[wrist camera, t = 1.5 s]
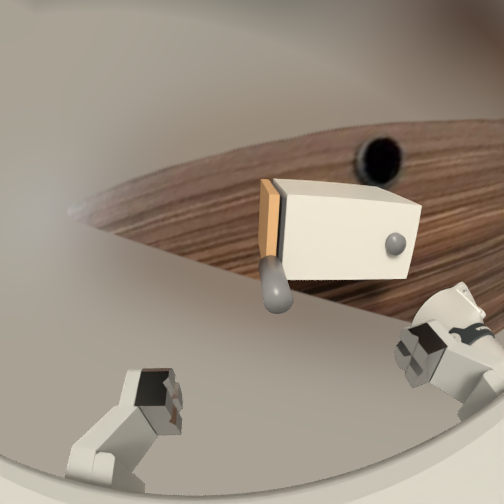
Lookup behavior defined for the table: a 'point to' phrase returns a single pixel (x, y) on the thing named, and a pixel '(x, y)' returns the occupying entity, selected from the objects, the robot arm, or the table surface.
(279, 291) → the wooden flat board
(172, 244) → the table surface
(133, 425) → the robot arm
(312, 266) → the camera case
